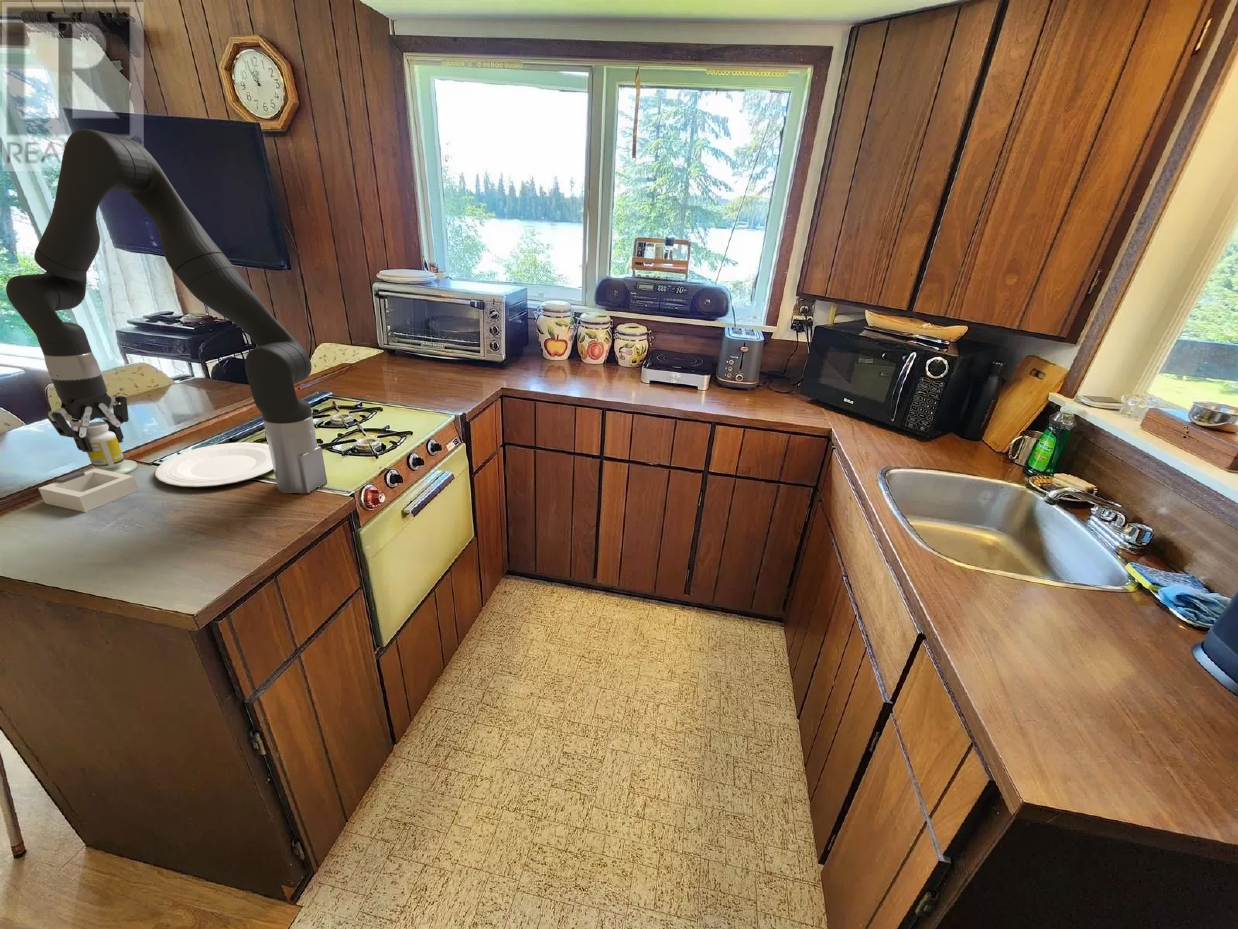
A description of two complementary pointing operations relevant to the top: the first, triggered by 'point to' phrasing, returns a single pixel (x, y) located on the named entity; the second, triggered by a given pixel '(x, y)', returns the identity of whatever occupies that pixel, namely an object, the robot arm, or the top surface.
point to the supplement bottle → (103, 446)
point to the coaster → (121, 467)
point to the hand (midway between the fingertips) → (103, 446)
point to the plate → (216, 465)
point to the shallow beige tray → (88, 489)
